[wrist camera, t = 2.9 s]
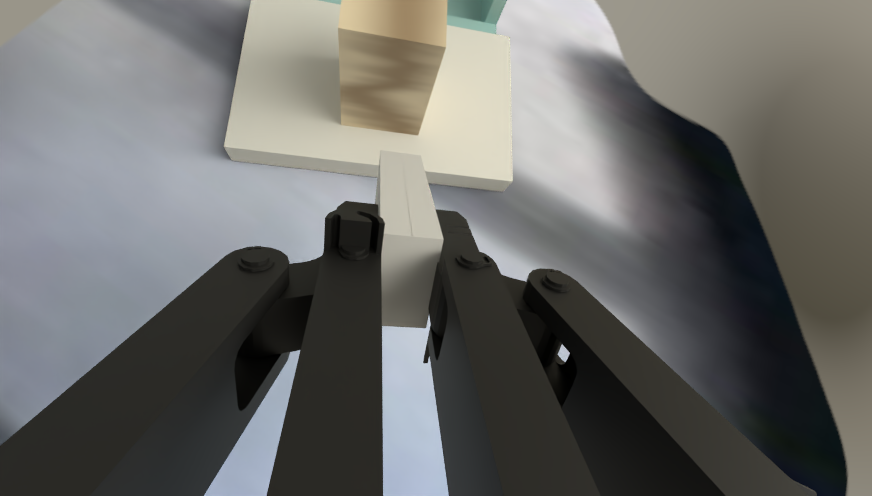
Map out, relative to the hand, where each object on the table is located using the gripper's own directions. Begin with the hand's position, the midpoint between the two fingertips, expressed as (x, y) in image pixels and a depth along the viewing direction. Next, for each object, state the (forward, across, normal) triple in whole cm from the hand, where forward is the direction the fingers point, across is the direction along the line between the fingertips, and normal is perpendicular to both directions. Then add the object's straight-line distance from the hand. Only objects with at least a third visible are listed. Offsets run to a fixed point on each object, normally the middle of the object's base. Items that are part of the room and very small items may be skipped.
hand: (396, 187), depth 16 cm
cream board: (+19, 0, 0) cm, 19 cm away
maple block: (+17, 0, 0) cm, 17 cm away
